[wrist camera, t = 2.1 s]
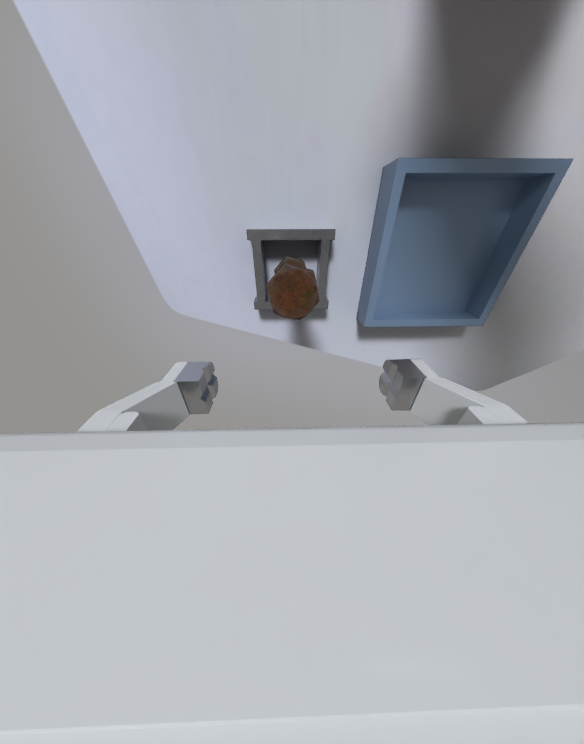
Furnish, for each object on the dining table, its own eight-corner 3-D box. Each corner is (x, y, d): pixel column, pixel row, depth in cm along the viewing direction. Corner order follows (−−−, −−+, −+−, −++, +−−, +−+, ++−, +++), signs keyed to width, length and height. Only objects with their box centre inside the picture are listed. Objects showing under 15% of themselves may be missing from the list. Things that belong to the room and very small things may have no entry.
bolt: (312, 257, 33) (328, 276, 21) (303, 290, 36) (312, 324, 23) (276, 246, 32) (270, 260, 20) (270, 281, 35) (261, 311, 22)
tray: (535, 167, 28) (573, 158, 24) (464, 316, 39) (482, 325, 35) (383, 167, 27) (398, 158, 24) (356, 317, 39) (363, 326, 35)
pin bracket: (331, 229, 31) (335, 229, 28) (325, 303, 37) (327, 308, 35) (249, 229, 31) (246, 229, 28) (256, 303, 37) (254, 309, 34)
